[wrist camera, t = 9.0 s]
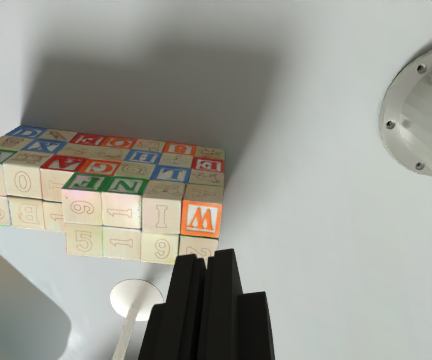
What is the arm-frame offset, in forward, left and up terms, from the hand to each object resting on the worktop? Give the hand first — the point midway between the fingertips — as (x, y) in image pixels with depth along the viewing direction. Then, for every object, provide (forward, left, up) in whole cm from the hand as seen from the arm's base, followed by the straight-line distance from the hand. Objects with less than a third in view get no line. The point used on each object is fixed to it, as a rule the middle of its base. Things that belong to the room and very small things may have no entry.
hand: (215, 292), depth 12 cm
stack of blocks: (+12, +6, -29) cm, 33 cm away
